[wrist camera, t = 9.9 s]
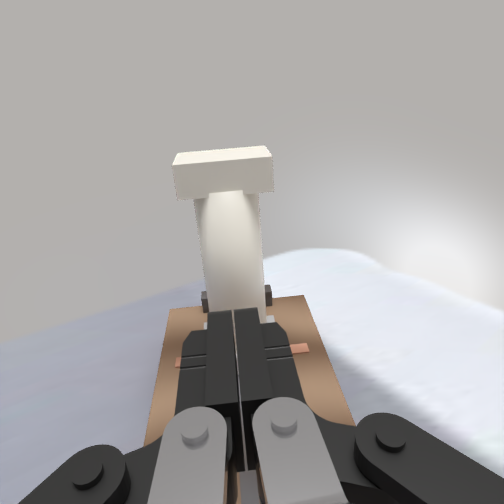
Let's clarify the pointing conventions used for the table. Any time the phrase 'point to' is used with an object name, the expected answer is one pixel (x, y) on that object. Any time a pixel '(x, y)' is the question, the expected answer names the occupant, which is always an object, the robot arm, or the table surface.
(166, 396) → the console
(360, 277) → the table surface
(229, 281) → the fader
